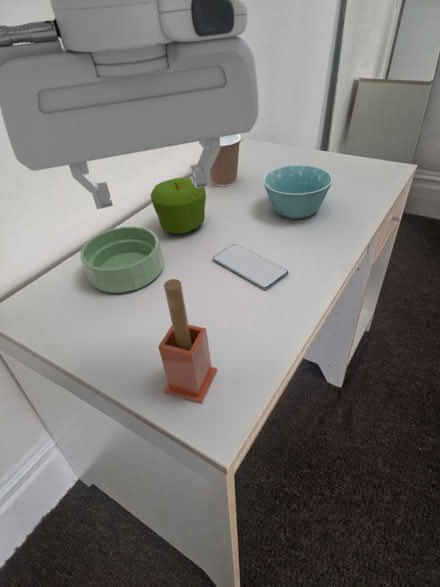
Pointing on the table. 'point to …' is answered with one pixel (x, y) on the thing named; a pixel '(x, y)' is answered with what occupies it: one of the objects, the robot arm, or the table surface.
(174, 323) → the stirring stick
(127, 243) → the green round dish
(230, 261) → the smartphone
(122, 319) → the table surface
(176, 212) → the apple
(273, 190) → the bowl
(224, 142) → the coffee cup
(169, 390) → the utensil holder
